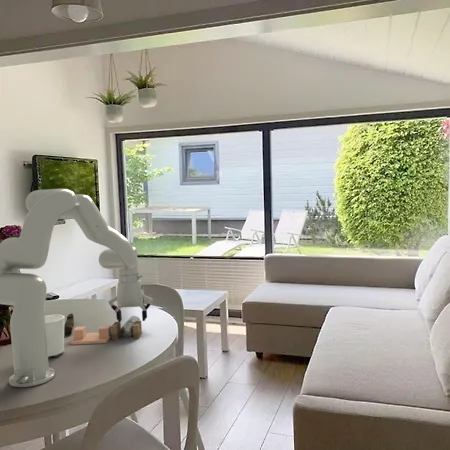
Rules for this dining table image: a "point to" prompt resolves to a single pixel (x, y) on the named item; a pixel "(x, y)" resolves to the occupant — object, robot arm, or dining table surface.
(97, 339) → the cradle
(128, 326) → the axle
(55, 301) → the dining table surface
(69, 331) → the hand tool
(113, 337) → the channel block
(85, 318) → the dining table surface
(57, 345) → the cup
